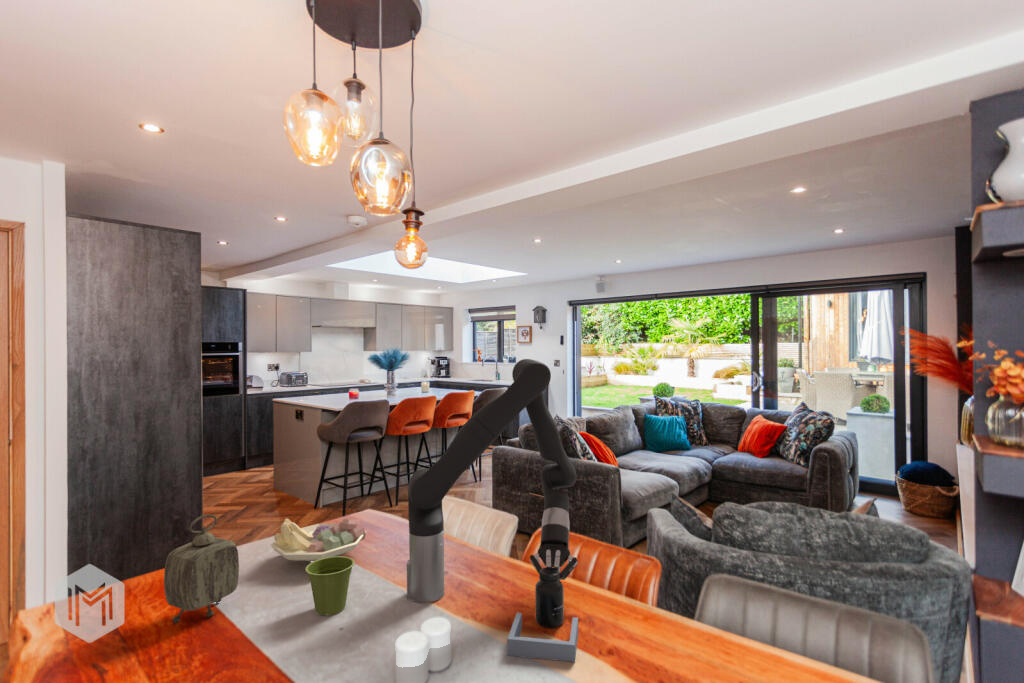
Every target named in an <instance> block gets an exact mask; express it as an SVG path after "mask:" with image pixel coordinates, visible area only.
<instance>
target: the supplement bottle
mask: <svg viewBox="0 0 1024 683" xmlns="http://www.w3.org/2000/svg"><path fill="white" fill-rule="evenodd" d="M538 579H539V580H538V581H537V582H536V584H535V591H534V592H535V596H534V597H535V602H534V603H535V621H536V623H537V624H538V625H539V626H541V627H543V628H548V629H549V628H550V629H552V628H553V629H554V628H558V627H560V626H561V625H563V623H564V620H565V618H564V616H565V611H564V608H565V604H564V602H565V601H564V596H565V595H564V594H565V593H564V590H565V589H564V585H563V583H562V582H561V580H559V579H560V577H559V570H557V569H556V568H554V567H552V568H551V567H546V566H545V567H543V568H542V569H541V570H540V575H538Z"/></svg>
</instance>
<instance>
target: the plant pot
mask: <svg viewBox="0 0 1024 683" xmlns="http://www.w3.org/2000/svg"><path fill="white" fill-rule="evenodd" d="M354 565H355V560H354V559H353V558H351V557H349V556H342V555H338V556H334V557H327V558H322V559H319V560H316V561H314V562H312V563H310V562H309V564H308V565H306V567H305V572H306V573H307V574H308V580H309V581H310V586H311V592H312V598H313V602H314V604H313V605H314V610H315V613H316V614H318V615H320V616H323V615H326V616H334V615H336V614H339V613H340V612H342V611H343V610H344V609H345V607H346V605H347V598H348V591H349V590H348V589H349V584H350V579H351V578H350V577H351V574H352V569H353V567H354Z"/></svg>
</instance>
